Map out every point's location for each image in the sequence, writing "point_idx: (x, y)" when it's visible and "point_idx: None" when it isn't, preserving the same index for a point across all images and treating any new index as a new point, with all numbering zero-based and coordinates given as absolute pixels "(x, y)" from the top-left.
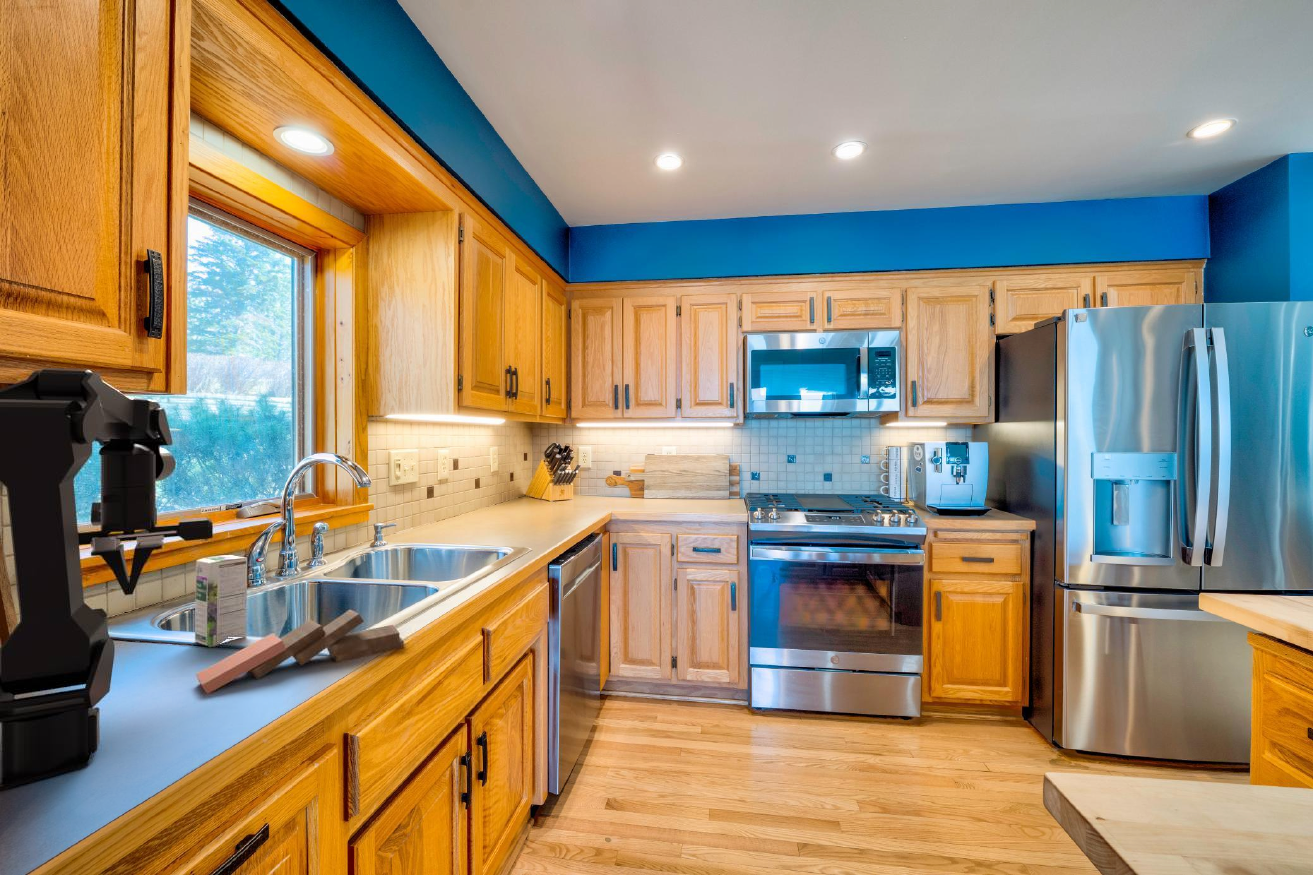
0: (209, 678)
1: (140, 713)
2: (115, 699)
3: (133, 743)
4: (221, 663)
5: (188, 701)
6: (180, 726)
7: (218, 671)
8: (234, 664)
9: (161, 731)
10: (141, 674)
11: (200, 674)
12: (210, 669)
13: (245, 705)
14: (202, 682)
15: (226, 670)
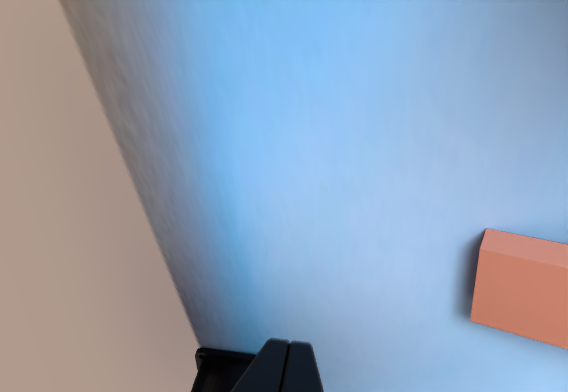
0: (491, 317)
1: (351, 299)
2: (306, 187)
3: (337, 389)
4: (548, 283)
5: (435, 307)
6: (400, 386)
7: (520, 313)
8: (560, 335)
9: (374, 382)
10: (370, 2)
11: (487, 267)
12: (514, 277)
13: (508, 388)
14: (474, 313)
15: (533, 334)
